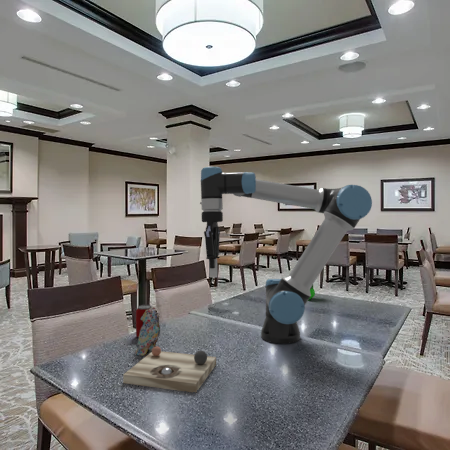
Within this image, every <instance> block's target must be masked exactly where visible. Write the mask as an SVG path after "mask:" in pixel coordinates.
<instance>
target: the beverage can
mask: <svg viewBox="0 0 450 450" xmlns="http://www.w3.org/2000/svg"><path fill="white" fill-rule="evenodd" d="M152 307H153V306H152V305H149V304H141V305H138V306H137V309H136V310H135V336H136V337H137V338H139V334H140V330H141V327H142V325H143V324H144V322H143V320H141V317H142V316H143V314H144V312H145V311H146V310H149V309H150V308H152Z"/></svg>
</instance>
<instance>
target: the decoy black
mask: <svg viewBox="0 0 450 450" xmlns="http://www.w3.org/2000/svg"><path fill="white" fill-rule="evenodd" d="M193 355H194V360H195V362H196V363H197V364H199V365H202V364H204V363H205V362H206V361H207V356H208V354H207V353H206V352H205V351H203V350H198V351H196V352H195V353H194V354H193Z"/></svg>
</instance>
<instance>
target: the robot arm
mask: <svg viewBox="0 0 450 450" xmlns="http://www.w3.org/2000/svg"><path fill="white" fill-rule="evenodd" d="M256 177H257V176H256V173H255V172H251V171H249V172H247V171H244V172H243V171H242V172H241V171H240V172H223V169H222V168H221V167H219V166H205V167H202V169H201V171H200V194H201V195H200V196H201V197H200V199H201V200H200V203H199V205H201V222H202V223H206V227H205V230H204V232H203V234H204V235H203V236H204V239H205V240H204V242H205V250H206V251H205V252H206V253H205V254H206V257H205V258H206V260H208V277H209V278H218V259H220V258H221V257H220V256H219V255H220V235H221V230H220V227H219V225H218V223H222V222H223V219H224V217H223V216H224V215H223V212H222V210H223V195H230V194H231V195H233V196H236V197H239V198H240V197H241V198H242V197H243V198H247V199H248V198H250V199H256V200H261V201H268V202H272V203H279V204H284V205H290V206H296V207H301V208H307V209H312V210H315V212H316V213H318V214H319V213H320V214H323V215H324V220H323V221H322V223H321V225H319V227H318V229H317V231H316V232H315V233H314V235H313V236H312V238H311V240H310V242H309V243H308V244H307V246H306V248H305V250H304V251H303V252H302V254H301V255H300V257H299V259H298V260H297V262H296V264H295V265H294V266H293V268H292V270H291V271H290V273H289V274H288V275H287V276H282V277H281V278H270V279H269V278H268V279H267V280H266V281H265V286H264V287H265V319H264V321H263V324H262V327H261V330H260V331H261V332H260V334H261V335H260V337H261V339H262V338H263V339H262V340H263V341H265V342H268V341H269V342H268V343H272V344H279V345H284V344H285V345H286V344H287V345H288V344H292V343H294V344H295V343H296V342H299V341H300V339H301V331H300V328H299V325H298V323H297V322H299V321H300V320H301V318H303V316H304V313H305V309H306V305H307V303H308V301H310V300H309V298H310V296H311V294H310V288H311V286H312V285H313V286H314V283H315V282H316V280H317V279H318V277H319V276H320V274H321V273H322V271H323V270H324V267H325V266H326V265H327V263H328V261H329V260H330V259H331V256H332V255H334V254H333V253H334V252H335V251H336V249H337V247H338V246H339V244H340V243H341V241H342V240H343V238H344V236H345V235H346V233H348V232H349V231H353V230H354V229H355V227H356V226H357V225H358V224H359V221H360V220H362V219H364V218H365V217H366V216H367V215H368V214H369V213H370V211H371V209H372V206H373V200H372V196H371V194H370V192H369V191H368V190H367V189H366V188H365V187H363V186H361V185H358V184H347V185H345V186H342V187H339V188H325V187H320V188H319V189H316V188H315V189H314V188H309V187H304V186H298V185H291V184H286V183H280V182H275V181H268V180H262V179H257V178H256Z"/></svg>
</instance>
